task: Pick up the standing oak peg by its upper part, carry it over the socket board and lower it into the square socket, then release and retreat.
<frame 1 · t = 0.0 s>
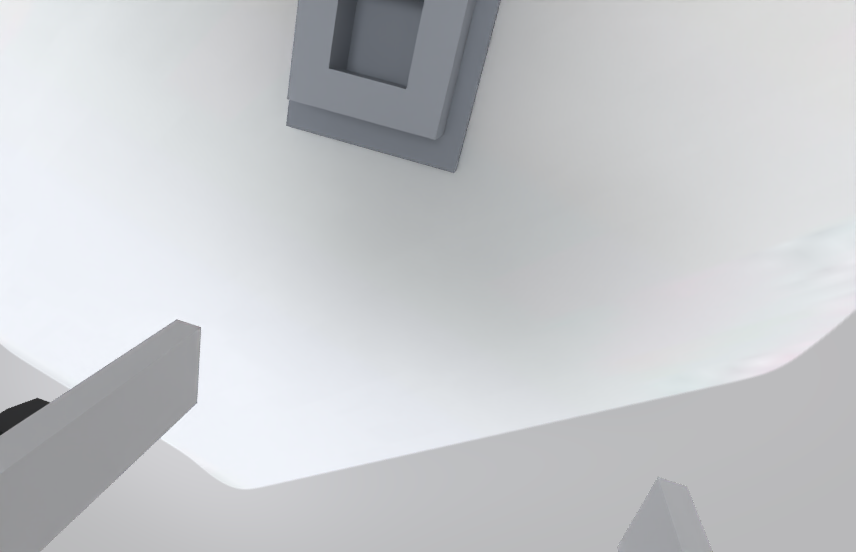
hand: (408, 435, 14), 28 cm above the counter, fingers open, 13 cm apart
socket: (393, 40, 36), on the counter
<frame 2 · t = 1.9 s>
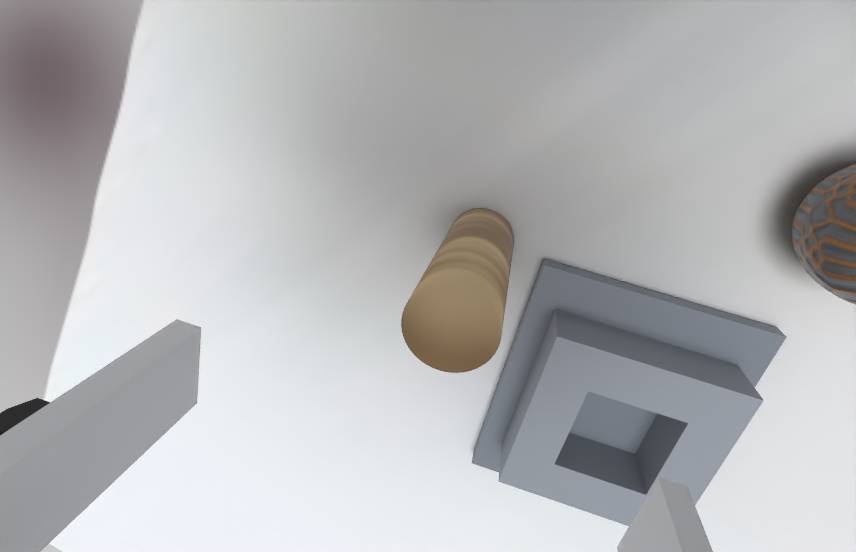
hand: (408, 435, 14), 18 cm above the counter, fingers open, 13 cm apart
peg: (481, 239, 30), on the counter
vase: (843, 214, 26), on the counter
socket: (606, 396, 32), on the counter
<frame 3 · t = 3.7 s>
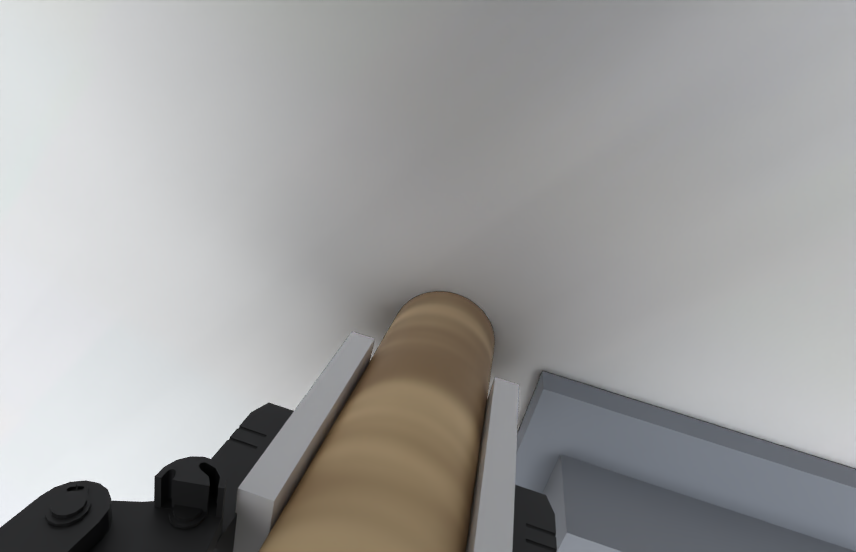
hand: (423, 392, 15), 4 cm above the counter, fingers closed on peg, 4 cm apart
peg: (442, 339, 19), on the counter, touching gripper
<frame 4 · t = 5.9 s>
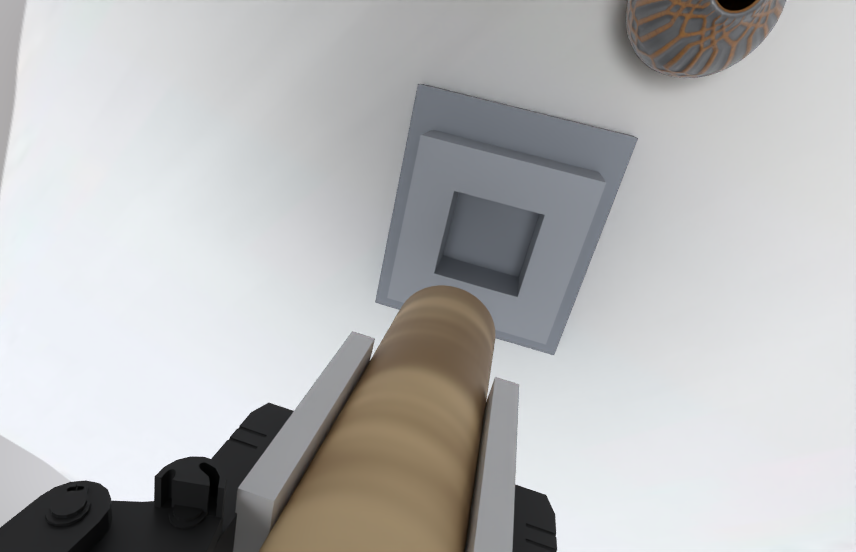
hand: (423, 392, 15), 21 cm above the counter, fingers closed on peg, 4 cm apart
peg: (445, 331, 19), point 17 cm above the counter, touching gripper
vase: (680, 13, 28), on the counter
socket: (492, 225, 34), on the counter
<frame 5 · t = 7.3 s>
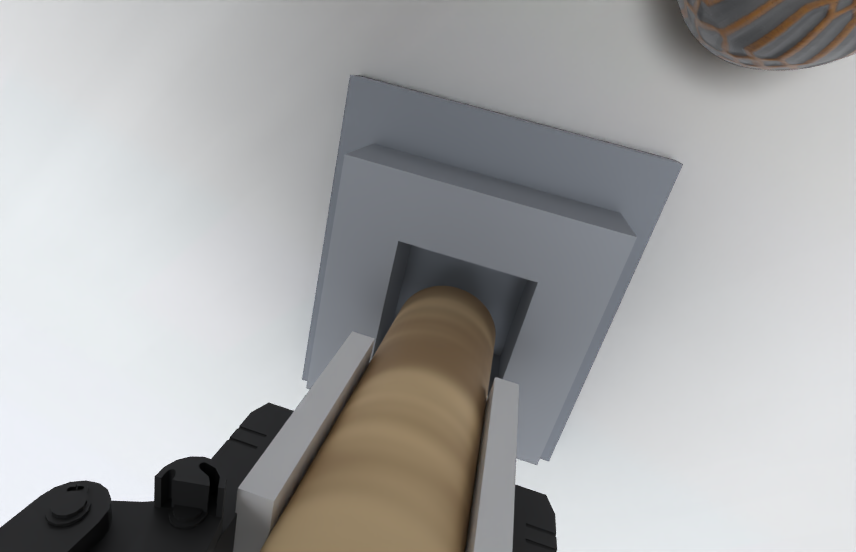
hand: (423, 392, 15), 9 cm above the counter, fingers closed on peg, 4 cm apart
peg: (445, 331, 19), point 5 cm above the counter, touching gripper
socket: (463, 280, 24), on the counter
when the fingers open (6 cm above the counter, at t = 8.2 s): peg stays where it is, resting on socket.
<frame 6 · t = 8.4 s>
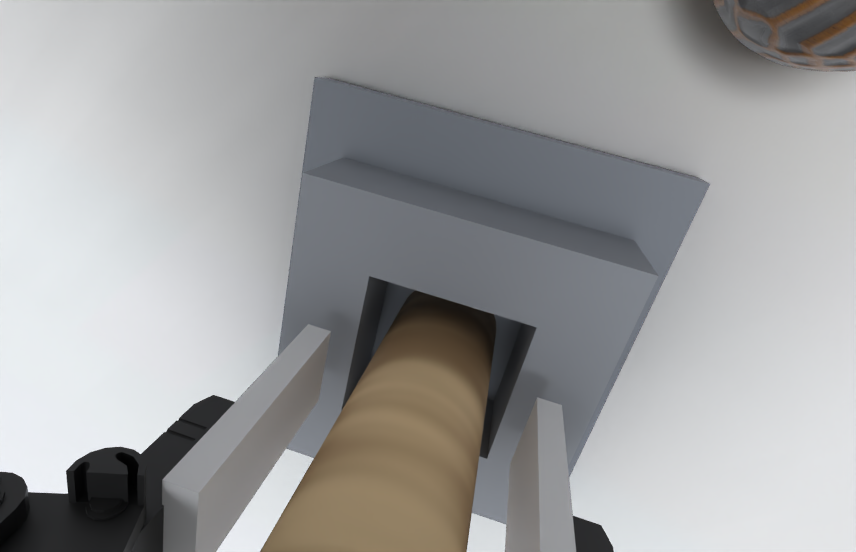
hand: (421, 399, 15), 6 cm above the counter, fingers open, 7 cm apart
peg: (447, 326, 20), point 1 cm above the counter, touching socket
socket: (451, 313, 21), on the counter
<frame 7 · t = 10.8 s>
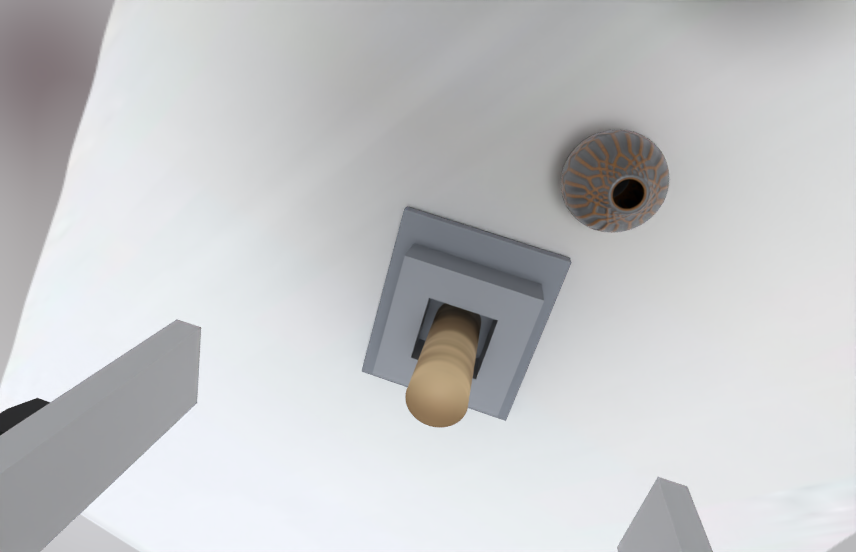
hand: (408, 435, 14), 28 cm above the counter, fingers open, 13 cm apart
peg: (457, 321, 42), point 1 cm above the counter, touching socket
vase: (603, 174, 37), on the counter
socket: (459, 315, 43), on the counter
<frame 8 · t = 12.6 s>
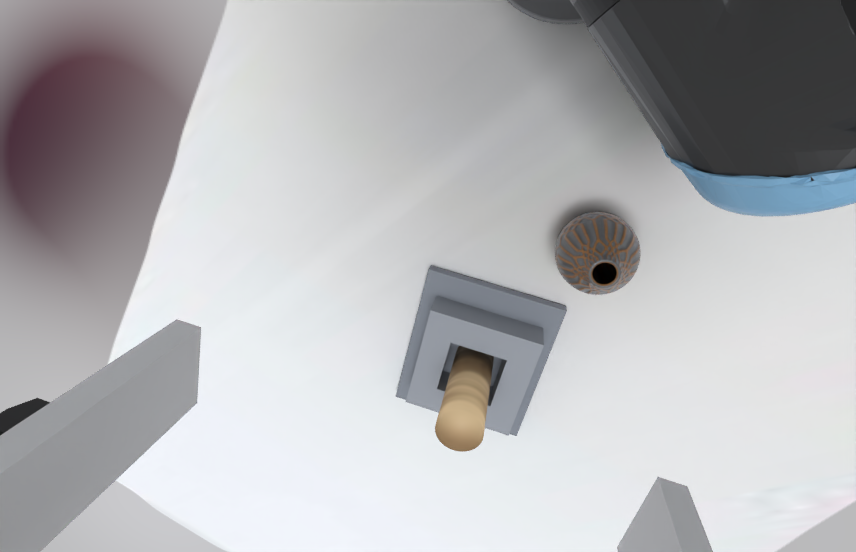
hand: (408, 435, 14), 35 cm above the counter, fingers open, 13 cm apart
peg: (474, 357, 51), point 1 cm above the counter, touching socket
vase: (591, 240, 45), on the counter
socket: (475, 351, 52), on the counter
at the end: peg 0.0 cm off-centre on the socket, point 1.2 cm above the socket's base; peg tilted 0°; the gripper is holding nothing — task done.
